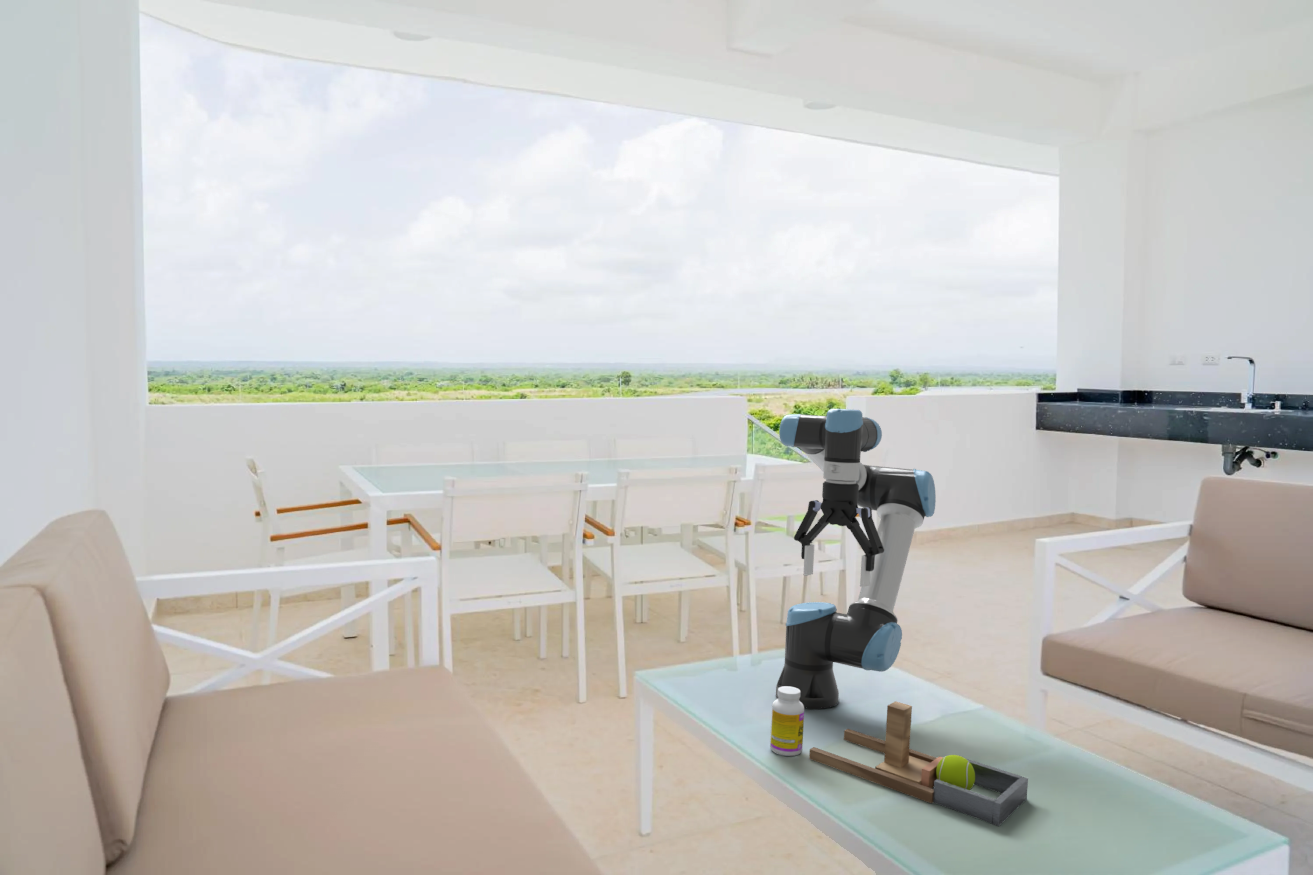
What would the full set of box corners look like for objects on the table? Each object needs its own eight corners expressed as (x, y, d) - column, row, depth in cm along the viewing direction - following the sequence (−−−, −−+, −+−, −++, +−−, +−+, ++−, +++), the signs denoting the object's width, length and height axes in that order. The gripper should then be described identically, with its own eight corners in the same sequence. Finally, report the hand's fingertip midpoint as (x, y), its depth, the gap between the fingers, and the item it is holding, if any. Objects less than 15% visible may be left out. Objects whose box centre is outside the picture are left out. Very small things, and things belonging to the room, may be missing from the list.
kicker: (898, 759, 176) (901, 696, 175) (947, 775, 169) (951, 711, 169) (874, 774, 169) (878, 709, 168) (925, 792, 162) (930, 724, 161)
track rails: (847, 737, 187) (847, 728, 187) (965, 776, 170) (965, 766, 170) (809, 758, 175) (809, 749, 175) (931, 803, 158) (932, 792, 158)
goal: (963, 777, 169) (965, 757, 169) (1026, 798, 161) (1028, 778, 161) (932, 802, 159) (934, 781, 158) (998, 826, 151) (1000, 803, 150)
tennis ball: (976, 789, 164) (978, 754, 164) (970, 804, 158) (973, 767, 158) (938, 780, 168) (941, 745, 167) (931, 794, 162) (933, 758, 161)
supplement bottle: (801, 758, 175) (804, 697, 174) (768, 754, 176) (771, 693, 176) (802, 745, 182) (805, 686, 181) (771, 742, 183) (774, 682, 182)
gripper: (781, 476, 188) (776, 572, 189) (887, 488, 172) (881, 593, 173) (799, 474, 194) (795, 567, 195) (903, 486, 178) (898, 588, 179)
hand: (835, 580), depth 184 cm, fingers open, 13 cm apart
